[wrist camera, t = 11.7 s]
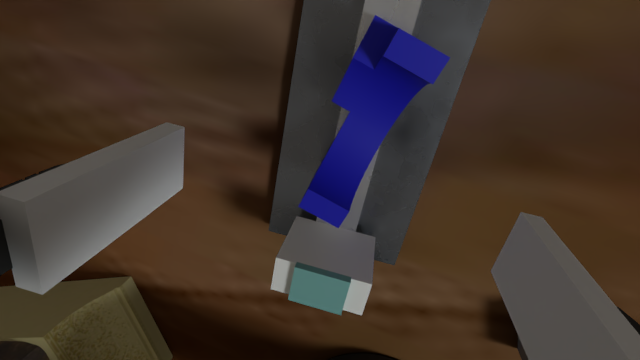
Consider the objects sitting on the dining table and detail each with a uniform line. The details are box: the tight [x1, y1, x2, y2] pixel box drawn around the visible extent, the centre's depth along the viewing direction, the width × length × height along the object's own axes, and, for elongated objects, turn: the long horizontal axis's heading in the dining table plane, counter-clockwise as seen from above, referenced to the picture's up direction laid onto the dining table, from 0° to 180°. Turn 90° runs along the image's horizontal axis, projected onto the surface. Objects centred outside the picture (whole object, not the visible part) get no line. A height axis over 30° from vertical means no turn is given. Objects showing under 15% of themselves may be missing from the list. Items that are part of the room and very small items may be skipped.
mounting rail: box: [269, 0, 491, 265], centre depth 26 cm, size 26×12×2 cm, turn 169°
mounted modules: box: [271, 216, 375, 315], centre depth 22 cm, size 26×7×6 cm, turn 169°
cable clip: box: [298, 15, 450, 228], centre depth 23 cm, size 12×4×6 cm, turn 153°
